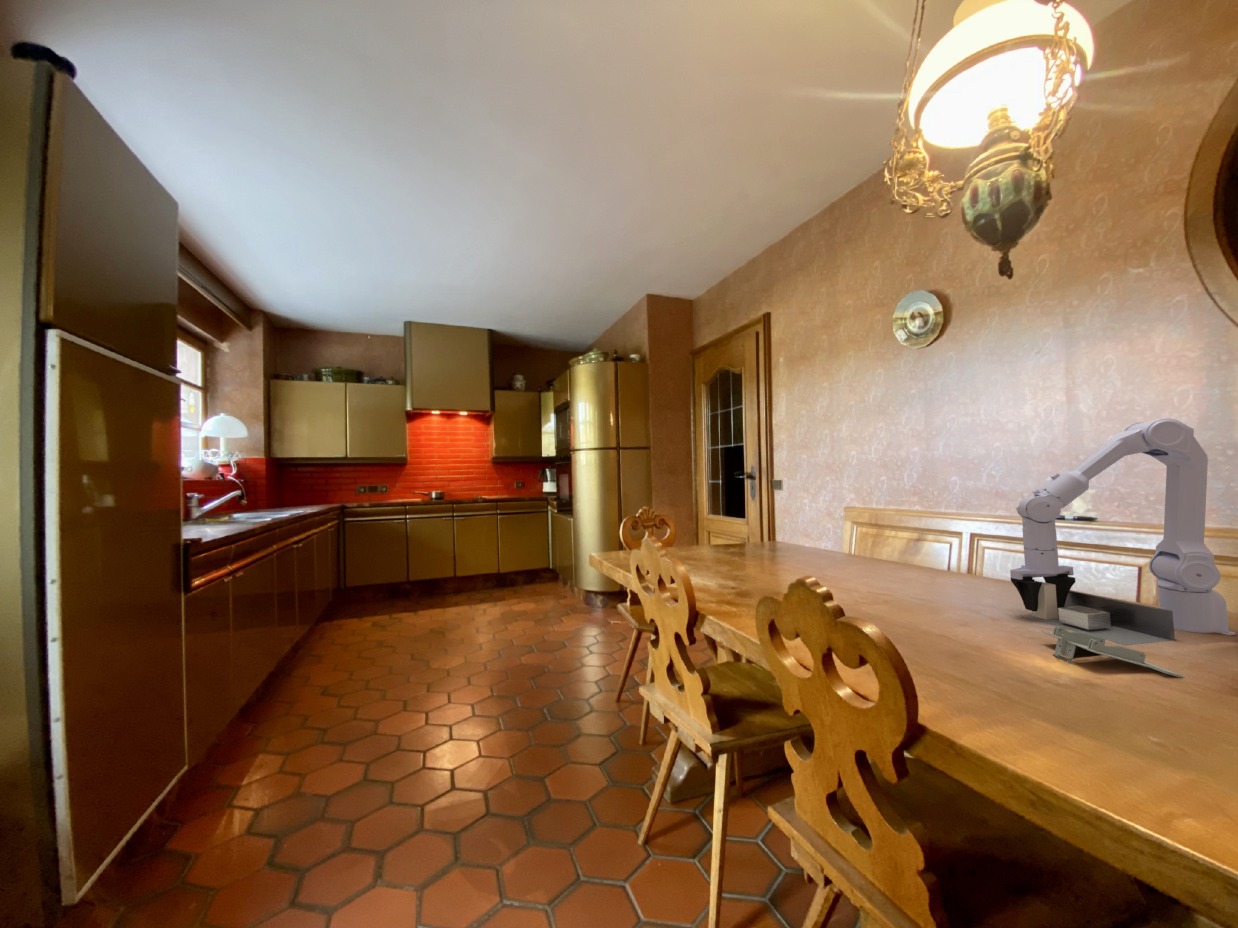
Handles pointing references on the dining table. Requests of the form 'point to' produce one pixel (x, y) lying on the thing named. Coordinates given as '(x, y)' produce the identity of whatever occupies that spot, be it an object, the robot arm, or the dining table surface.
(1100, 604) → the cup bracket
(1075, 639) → the metal bracket
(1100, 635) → the mounting board
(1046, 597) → the beige rectangular block
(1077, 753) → the dining table surface
